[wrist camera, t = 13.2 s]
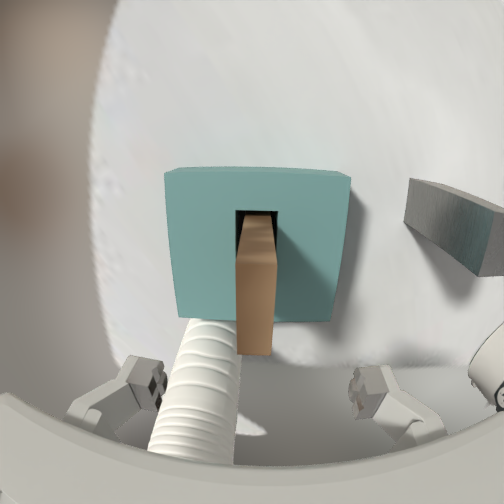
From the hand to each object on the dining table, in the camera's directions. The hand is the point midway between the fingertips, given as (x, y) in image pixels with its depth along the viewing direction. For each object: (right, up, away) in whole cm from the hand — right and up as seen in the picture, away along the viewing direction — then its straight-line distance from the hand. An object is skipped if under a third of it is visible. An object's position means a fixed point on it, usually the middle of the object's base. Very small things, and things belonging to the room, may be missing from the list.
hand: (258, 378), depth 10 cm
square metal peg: (+17, +10, +13) cm, 24 cm away
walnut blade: (0, +7, +15) cm, 16 cm away
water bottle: (-4, -5, +20) cm, 21 cm away
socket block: (0, +6, +15) cm, 16 cm away
